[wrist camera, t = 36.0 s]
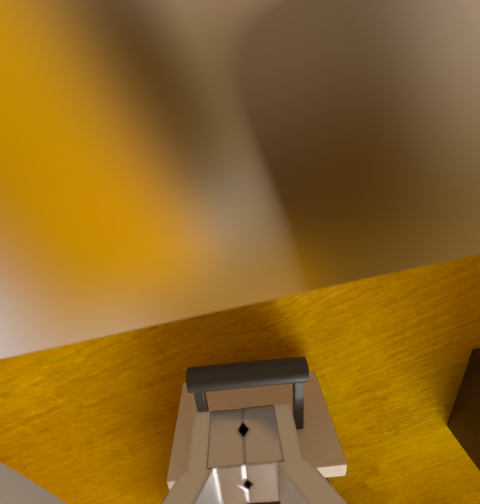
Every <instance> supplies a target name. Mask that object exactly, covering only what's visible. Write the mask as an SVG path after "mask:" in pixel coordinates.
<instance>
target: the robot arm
mask: <svg viewBox="0 0 480 504" xmlns="http://www.w3.org/2000/svg"><path fill="white" fill-rule="evenodd" d="M274 501H280V504H347V503H346V502H345V500H344V499H343V498H342V497H341V496H340V495H339V493H338V492H337V491H336V490H335V489H334V488H333V487H332V485H331V484H330V483H329V482H328V481H327V480H326V478H325V477H324V476H323V475H322V474H321V473H320V472H319V470H318V469H317V468H316V467H315V466H314V465H313V464H312V462H311V461H310V460H309V459H303V455H302V451H301V447H300V442H299V438H298V434H297V430H296V425H295V421H294V417H293V413H292V408H291V406H290V404H289V403H285V404H277V405H273V404H272V405H264V406H255V407H247V408H242V409H231V410H219V411H206V412H195V414H194V417H193V424H192V433H191V441H190V450H189V459H188V467H187V471H185V472H182V473H181V474H180V476H179V477H178V479H177V480H176V482H175V483H174V485H173V486H172V488H171V489H170V491H169V493H168V494H167V496H166V497H165V499H164V500H163V502H162V503H161V504H247V503H259V502H274Z"/></svg>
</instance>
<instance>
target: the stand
mask: <svg viewBox="0 0 480 504" xmlns="http://www.w3.org/2000/svg"><path fill="white" fill-rule="evenodd" d="M447 427H448V428H449V429H450V431H451V432H452V434H453V435H454V436H455V438H456V439H457V440H458V442H459V443H460V444H461V446H462V447H463V449H464V450H465V451H466V453H467V454H468V455H469V457H470V458H471V460H472V461H473V462H474V464H475V465H476V466H477V468H478V469H479V470H480V349H474V350H473V351H472V354H471V357H470V360H469V363H468V366H467V369H466V372H465V375H464V378H463V381H462V384H461V387H460V390H459V393H458V396H457V398H456V401H455V404H454V407H453V410H452V413H451V416H450V419H449V422H448V425H447Z"/></svg>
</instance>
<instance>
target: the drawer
mask: <svg viewBox="0 0 480 504" xmlns="http://www.w3.org/2000/svg"><path fill="white" fill-rule="evenodd" d="M285 403H289V404H290V406H291V408H292V413H293V417H294V421H295V425H296V430H297V434H298V438H299V442H300V447H301V451H302V455H303V459H309V460H310V461H311V462H312V464H313V465H314V466H315V467H316V468H317V469H318V470H319V472H320V473H321V474H322V475H323V476H324V477H325V478H326V480H327V481H328V482H329V480H328V477H336V476H345V475H346V469H347V462H346V459H345V456H344V454H343V451H342V448H341V445H340V442H339V440H338V437H337V434H336V431H335V428H334V425H333V423H332V420H331V417H330V414H329V411H328V408H327V406H326V403H325V400H324V397H323V394H322V391H321V389H320V386H319V383H318V380H317V377H316V374H315V372H314V371H309V369H308V364H307V361H306V359H305V357H294V358H283V359H273V360H262V361H252V362H242V363H231V364H221V365H210V366H200V367H190V368H188V370H187V375H186V383H183V387H182V393H181V399H180V405H179V411H178V417H177V422H176V428H175V434H174V440H173V446H172V452H171V457H170V463H169V469H168V475H167V485H168V488H169V491H170V489H171V488H172V486H173V485H174V483H175V482H176V480H177V479H178V477H179V476H180V474H181V473H182V472H185V471H187V467H188V459H189V450H190V441H191V433H192V424H193V417H194V414H195V412H206V411H219V410H231V409H242V408H247V407H255V406H264V405H272V404H273V405H277V404H285ZM247 504H280V501H274V502H259V503H247Z"/></svg>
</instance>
